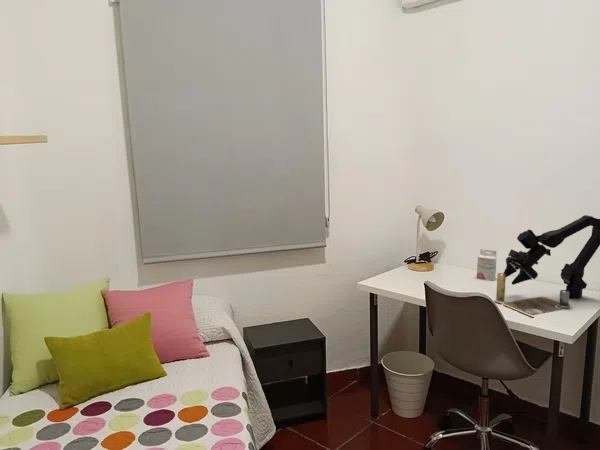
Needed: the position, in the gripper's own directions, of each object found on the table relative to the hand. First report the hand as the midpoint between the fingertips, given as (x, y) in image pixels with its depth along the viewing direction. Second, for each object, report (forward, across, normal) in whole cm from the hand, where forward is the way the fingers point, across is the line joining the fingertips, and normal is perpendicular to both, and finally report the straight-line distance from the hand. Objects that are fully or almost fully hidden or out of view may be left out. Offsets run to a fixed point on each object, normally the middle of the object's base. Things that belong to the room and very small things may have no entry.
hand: (507, 280), depth 215 cm
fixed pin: (-7, +12, +19) cm, 24 cm away
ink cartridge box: (+2, -36, +12) cm, 39 cm away
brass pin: (+9, 0, +5) cm, 10 cm away
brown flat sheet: (0, +9, +14) cm, 16 cm away
